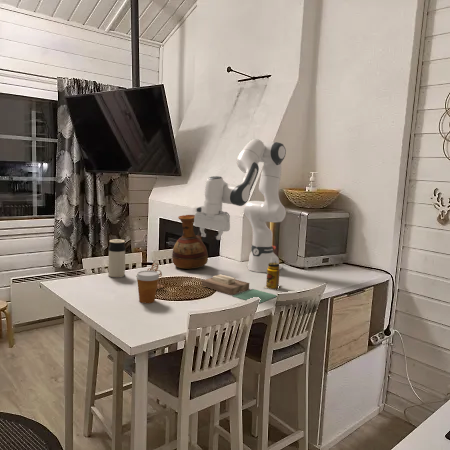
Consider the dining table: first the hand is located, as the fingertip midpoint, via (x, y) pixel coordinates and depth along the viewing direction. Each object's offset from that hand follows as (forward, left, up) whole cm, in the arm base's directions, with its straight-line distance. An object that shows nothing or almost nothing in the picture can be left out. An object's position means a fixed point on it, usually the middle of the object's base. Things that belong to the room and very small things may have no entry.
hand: (210, 238), depth 205 cm
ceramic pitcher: (-16, -28, -23) cm, 40 cm away
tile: (+1, +10, -19) cm, 22 cm away
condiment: (-18, +26, -23) cm, 39 cm away
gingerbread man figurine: (+27, -10, -23) cm, 36 cm away
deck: (+1, +11, -22) cm, 25 cm away
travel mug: (+26, -39, -23) cm, 52 cm away
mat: (+1, +28, -22) cm, 36 cm away
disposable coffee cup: (+41, +1, -23) cm, 46 cm away
